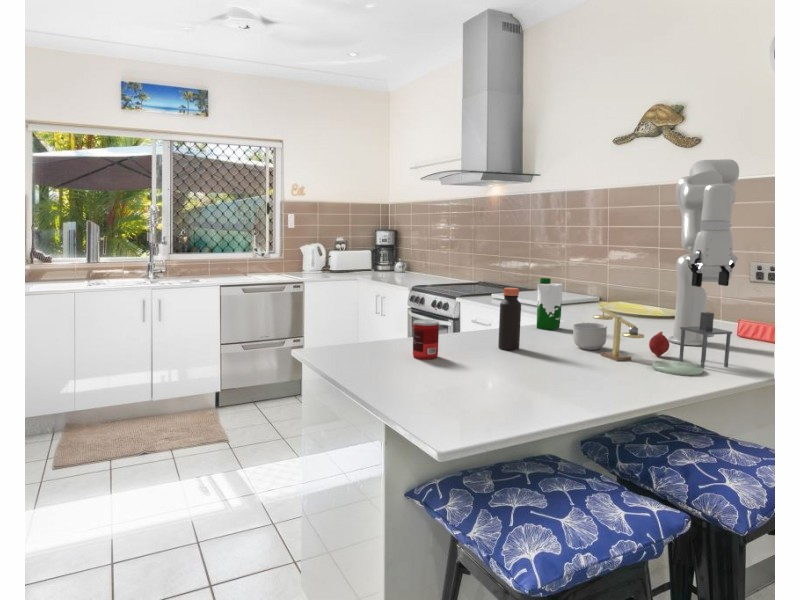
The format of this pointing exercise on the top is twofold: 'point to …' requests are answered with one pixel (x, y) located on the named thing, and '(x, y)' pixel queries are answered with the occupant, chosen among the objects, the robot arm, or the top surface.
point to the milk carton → (549, 304)
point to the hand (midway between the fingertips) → (709, 285)
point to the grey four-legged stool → (705, 336)
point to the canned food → (425, 339)
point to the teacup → (589, 335)
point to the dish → (677, 367)
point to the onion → (659, 344)
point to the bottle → (510, 320)
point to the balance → (618, 335)
